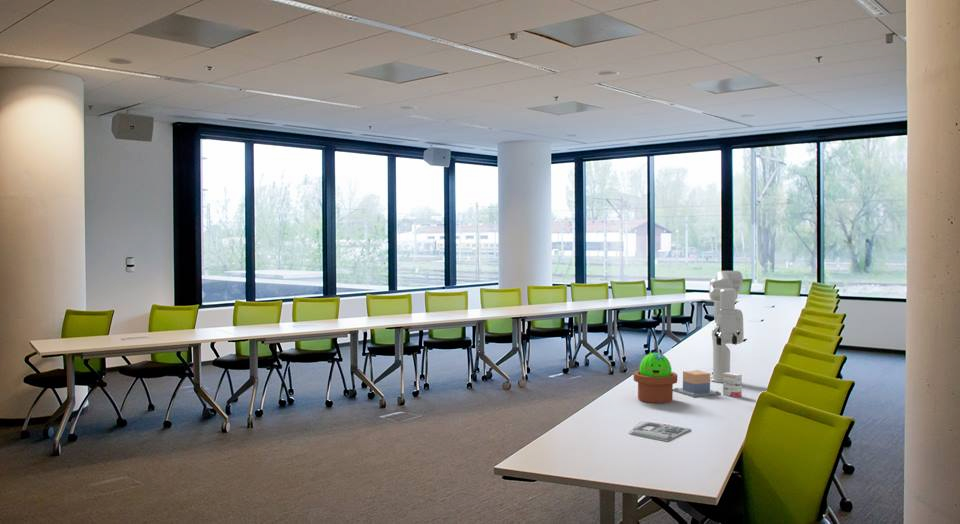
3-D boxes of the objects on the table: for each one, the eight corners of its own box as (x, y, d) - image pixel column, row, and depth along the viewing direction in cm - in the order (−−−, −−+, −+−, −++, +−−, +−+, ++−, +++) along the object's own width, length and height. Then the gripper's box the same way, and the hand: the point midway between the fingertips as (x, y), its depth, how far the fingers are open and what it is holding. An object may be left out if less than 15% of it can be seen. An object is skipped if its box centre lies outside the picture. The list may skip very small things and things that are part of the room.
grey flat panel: (667, 437, 299) (623, 429, 311) (667, 444, 299) (623, 435, 311) (691, 425, 317) (648, 418, 329) (691, 431, 317) (648, 424, 329)
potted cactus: (633, 394, 390) (633, 347, 389) (675, 396, 386) (676, 349, 385) (633, 403, 369) (633, 354, 368) (678, 405, 364) (679, 355, 363)
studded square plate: (698, 388, 406) (699, 368, 406) (721, 394, 390) (721, 374, 389) (672, 390, 399) (672, 370, 399) (693, 397, 383) (693, 376, 382)
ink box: (742, 396, 386) (742, 374, 385) (736, 397, 383) (737, 375, 382) (727, 393, 392) (727, 371, 392) (722, 394, 389) (722, 372, 389)
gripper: (736, 311, 394) (735, 343, 394) (708, 312, 389) (708, 344, 389) (745, 312, 387) (744, 345, 387) (717, 313, 381) (717, 346, 382)
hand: (726, 344), depth 388 cm, fingers open, 9 cm apart
